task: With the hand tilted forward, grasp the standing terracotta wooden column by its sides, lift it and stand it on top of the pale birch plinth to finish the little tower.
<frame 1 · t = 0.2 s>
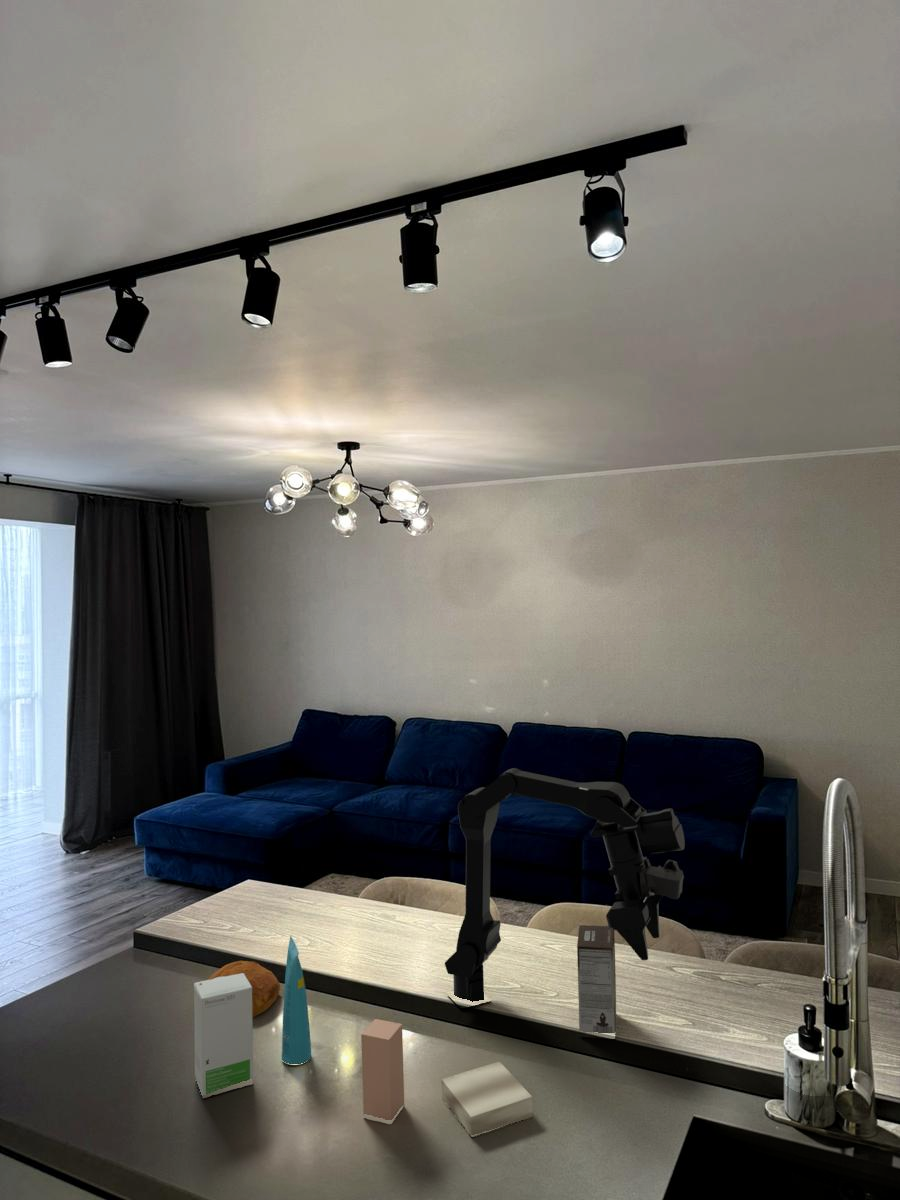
hand: (650, 948, 137), 15 cm above the worktop, tool pointing down, fingers open, 9 cm apart
bread loaf: (241, 1005, 153), on the worktop
coffee box: (598, 1026, 142), on the worktop
column: (384, 1112, 120), on the worktop
plinth: (486, 1107, 120), on the worktop
tube: (297, 1059, 135), on the worktop
skincare box: (224, 1082, 129), on the worktop
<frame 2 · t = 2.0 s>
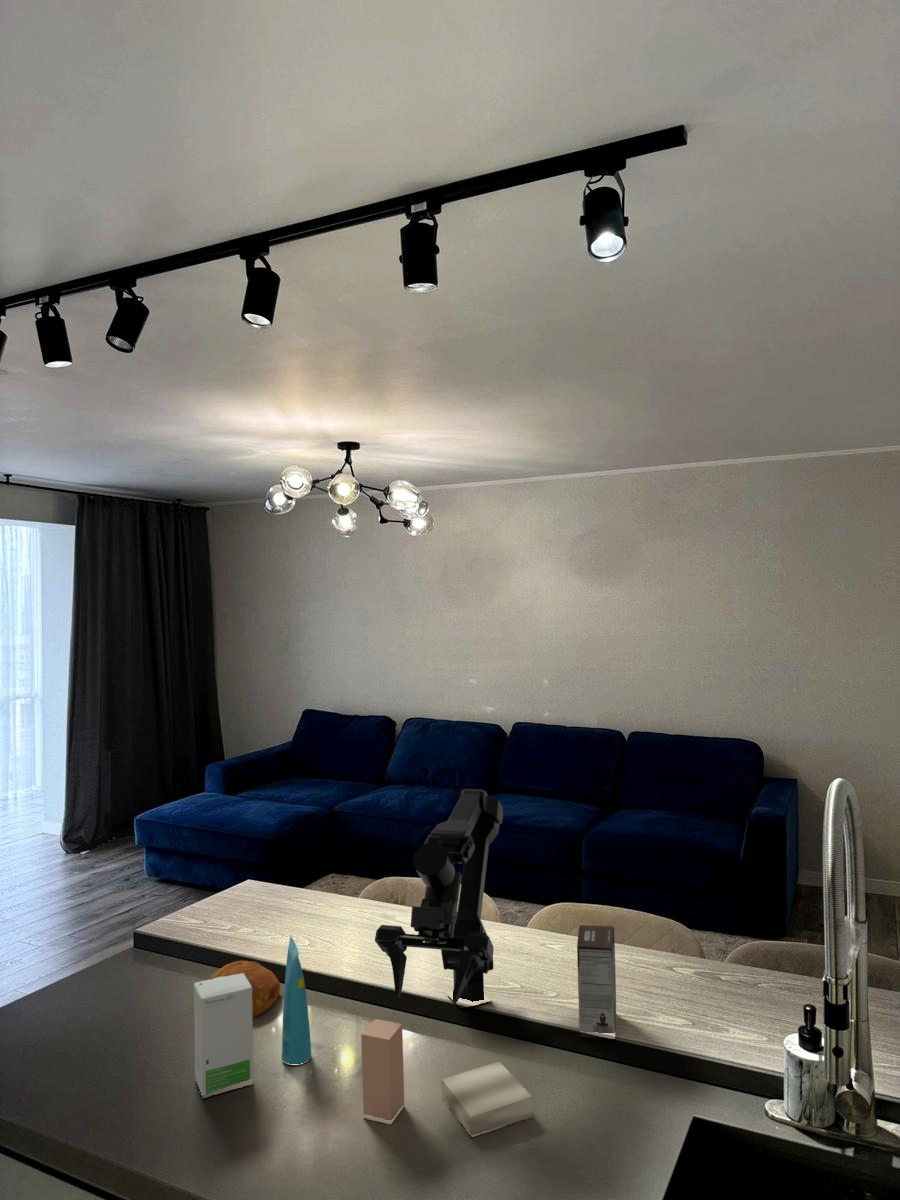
hand: (425, 999, 126), 14 cm above the worktop, tool tilted 40°, fingers open, 9 cm apart
nothing on the worktop moved.
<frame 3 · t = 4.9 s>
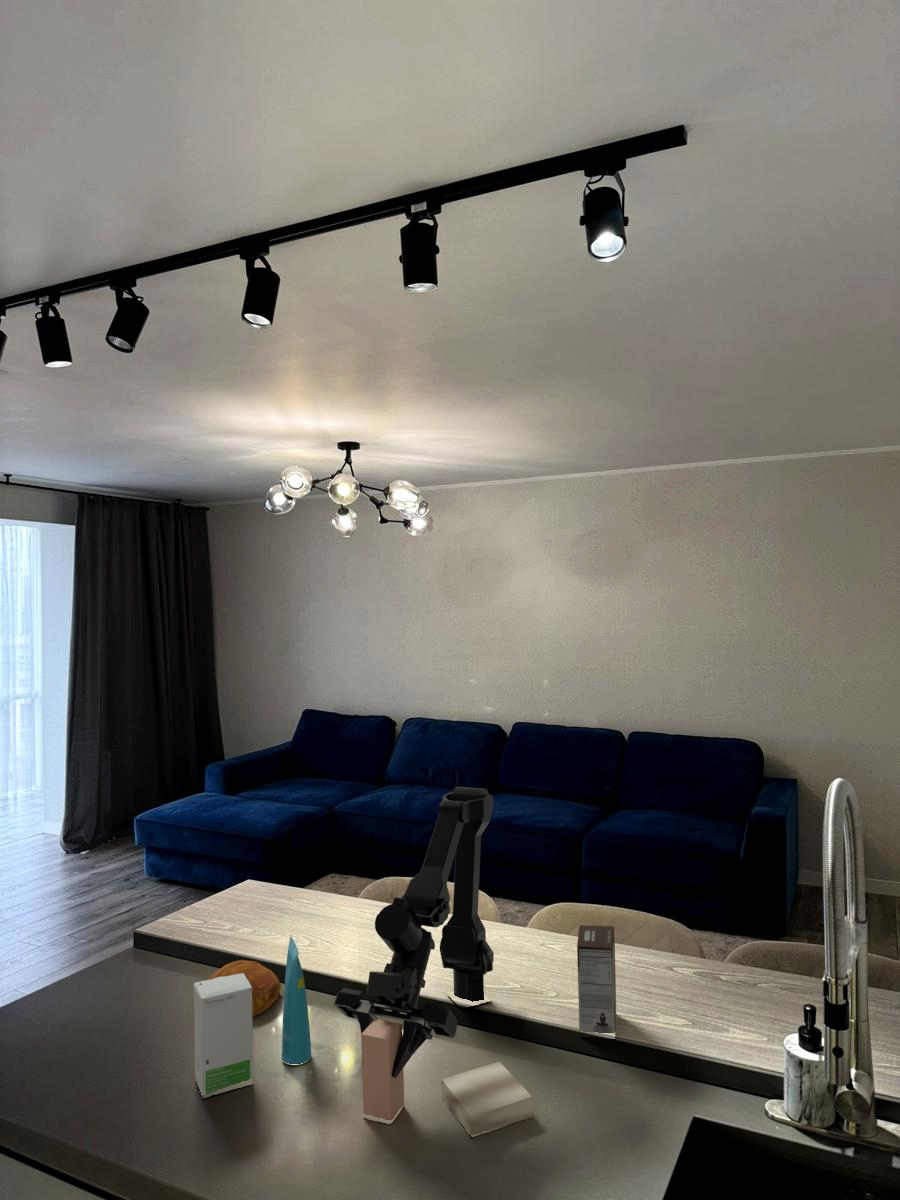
hand: (378, 1073, 118), 7 cm above the worktop, tool tilted 45°, fingers closed on column, 4 cm apart
column: (384, 1112, 120), on the worktop, touching gripper
everything else where it was.
when the fingers open (10 cm above the worktop, at t = 8.2 s): column stays where it is, resting on plinth.
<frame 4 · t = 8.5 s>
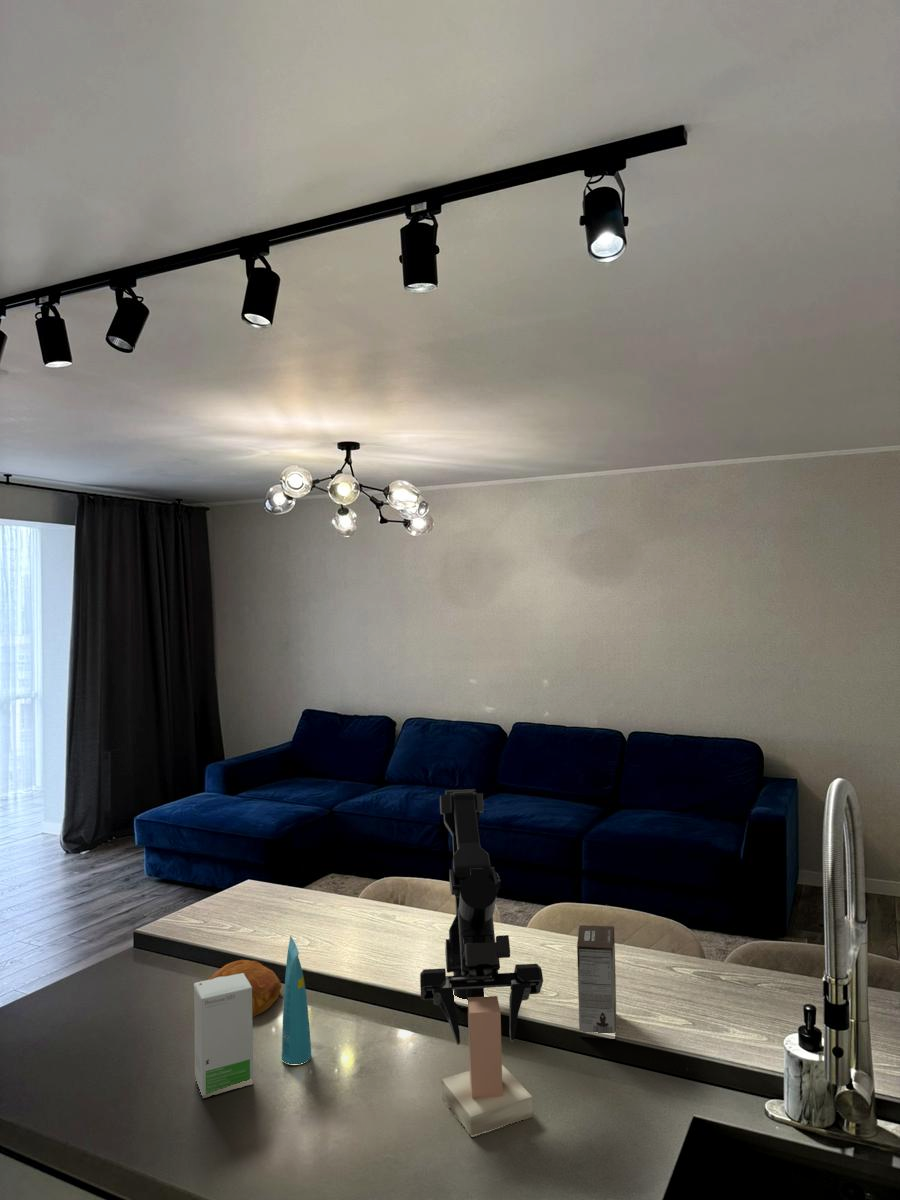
hand: (485, 1042, 119), 11 cm above the worktop, tool tilted 45°, fingers open, 8 cm apart
column: (485, 1087, 120), point 3 cm above the worktop, touching plinth
everything else where it was.
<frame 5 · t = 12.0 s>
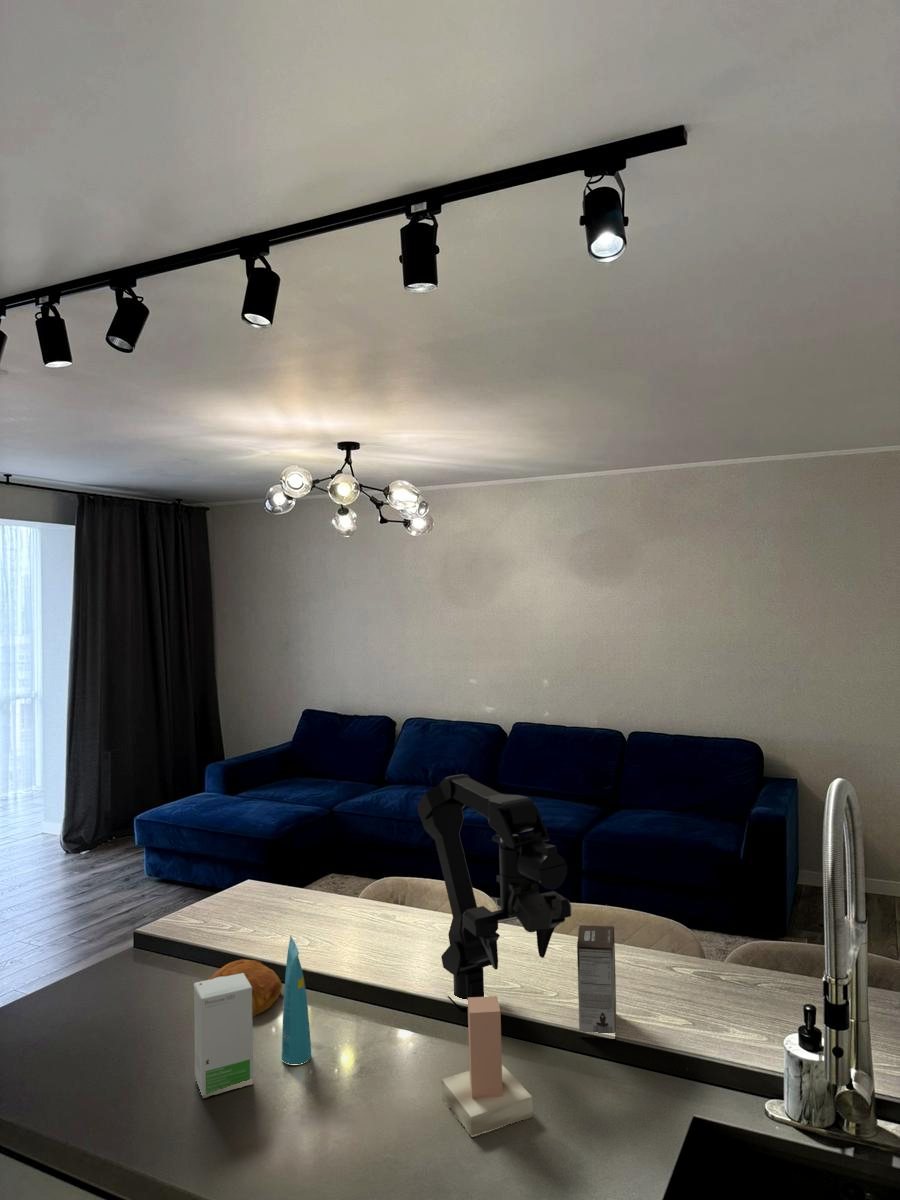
hand: (518, 962, 139), 13 cm above the worktop, tool pointing down, fingers open, 9 cm apart
nothing on the worktop moved.
at the end: column inside the target area on the plinth (0.0 cm from its centre), point 3.0 cm above the plinth's base; column tilted 0°; the gripper is holding nothing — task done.
